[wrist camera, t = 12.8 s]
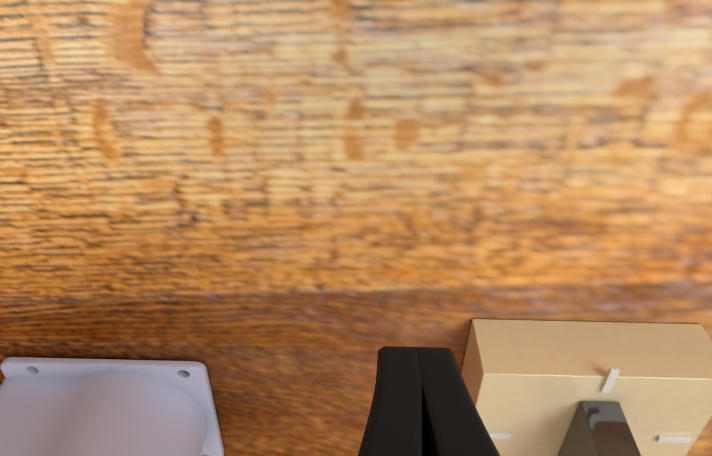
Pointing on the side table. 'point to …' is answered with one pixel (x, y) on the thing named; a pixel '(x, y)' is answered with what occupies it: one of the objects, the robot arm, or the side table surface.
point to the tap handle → (599, 432)
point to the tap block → (588, 381)
